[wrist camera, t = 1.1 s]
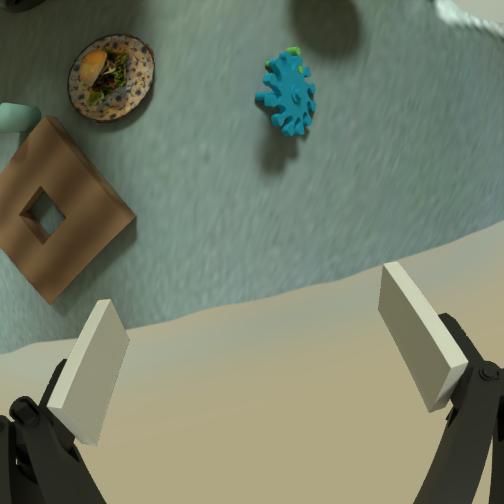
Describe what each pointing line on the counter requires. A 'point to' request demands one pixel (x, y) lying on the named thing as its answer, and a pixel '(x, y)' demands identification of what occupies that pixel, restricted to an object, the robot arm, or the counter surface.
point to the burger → (111, 77)
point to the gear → (289, 92)
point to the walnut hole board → (67, 200)
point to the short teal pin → (18, 117)
